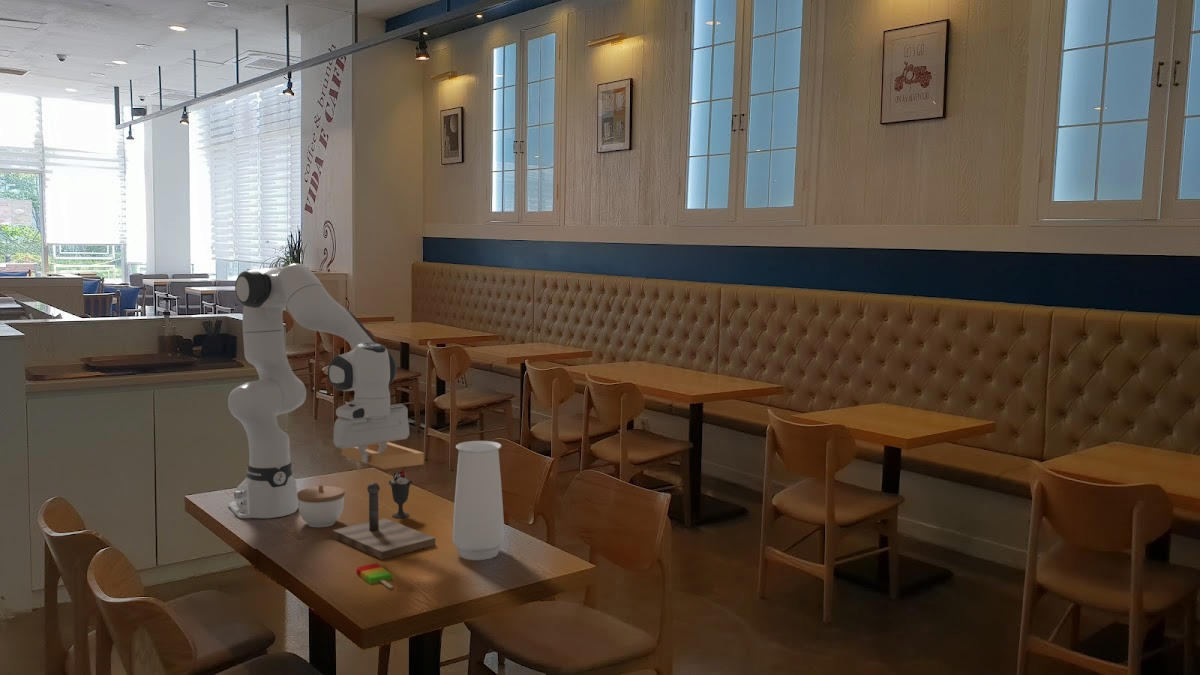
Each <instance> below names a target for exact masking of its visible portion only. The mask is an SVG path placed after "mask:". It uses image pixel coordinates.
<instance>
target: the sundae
mask: <svg viewBox="0 0 1200 675" xmlns="http://www.w3.org/2000/svg"><path fill="white" fill-rule="evenodd" d="M406 468H407V466H405V467H404V468H402V469H401V470H400V471H399V472H394V473H393V476H392V477H393V478H392V480H388V485H389V486H391V493H392V499H393V502H394V503H396V504H397V505H398V510H397V513H394V514H392V515H391V517H392V518H393V517H394V518H393V519H398V518H401V519H407V518H409V517H410V513H407V512H406V513H405V511H404V508H403V506H404V504H405V503H406V502H407V501H408V498H409V494H410V493H409V492H410V488H411V484H412V483H413V481H412V480H411V479H408V476H407V474H406V473H405V469H406ZM408 516H409V517H408ZM406 517H407V518H406Z"/></svg>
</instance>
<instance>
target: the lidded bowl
mask: <svg viewBox="0 0 1200 675" xmlns="http://www.w3.org/2000/svg"><path fill="white" fill-rule="evenodd" d="M345 494H346V492H345V489H344V488H343V487H339V486H333V485H324V484H318V486H311V487H306V488H304V489H301V490H299V491H297V498H298V507H299V508H298V511H299V515H300V516H301V518H302V520H303V521H304V522H305V523H306V524H307V525H308V527H311V528H327V527H331V526H333V525H335V524H336V522H337V520H339V519H340V517H341V516H342V513H343V510H344V505H345Z"/></svg>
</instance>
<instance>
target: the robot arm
mask: <svg viewBox="0 0 1200 675" xmlns="http://www.w3.org/2000/svg"><path fill="white" fill-rule="evenodd" d="M234 286H235V287H234V289H235V290H234V291H235V295H236V297H237V299H238V301H239V302H240V304H241V305H242V306H243V308H242V337H243V339H242V340H243V351H244V358H245V360H246V361H247V362H248V363H249V364H251V365H252V366H253V367H254V368H255V369H256V370H255V371H256V372H257V375H258V380H253V381H247V382H245V383H243V384H240V385H238V386H237V387H235V388H234V389H232V390H231V391H230V393H229V395H228V396H227V397H228V398H227V406H228V407H227V408H228V410H229V412H230V414H231V415H232V416H233V418H235V419H236V420H238V421H239V423H241V425H242V426H243V428H244V431H245V433H246V436H247V437H246V438H247V441H248V442H247V443H248V456H249V457H248V458H249V460H248V461H249V464H247V465H246V466H247V467H246V478H245V479H244V480H242V482H240V484H239V485H238V486H237V487H236V490H235V491H234V493H233V496H234V497H233V498H234V499H235V500H232V501H230V502H228V503H227V507H228V506H229V507H230V508H231V509H230V508H229V507H228V508H229V509H230V511H231V512H233V513H234V515H236V516H237V518H239V519H276V518H280V517H284V516H288V515H291V514H293V513H296V512H297V510H299V507H298V498H297V493H298V489H297V488H298V487H297V481H296V479H295V478H294V477H293V476H292V475H293V464H292V462H291V451H290V450H291V448H290V447H291V446H290V444H291V442H290V436H289V435H288V433H287V432H285V431H284V430H282V429H281V428H280V426H279V423H278V419H277V418H278V417H277V416H280V415H283V414H287V413H291V412H293V411H294V410H296V409H298V408H299V407H301V406H302V405H303V404H304V403H305V401H306V399H307V389H306V386H305V384H304V382H303V381H302V380H301V379H300V378H299V377H298V376H296V374H295V373H294V372H293V369H292V367H291V365H290V363H289V359H288V356H287V355H288V354H287V350H286V348H287V347H286V341H285V340H286V338H285V326H284V319H283V313H284V309H287V310H288V312H289V314H290V315H291V317H292V318H293V319H294V321H295V322H296V323H297V324H298V325H299V326H301V327H303V328H304V329H307V330H309V331H313V332H315V331H316V332H321V333H327V334H331V335H335V336H338V337H340V338H342V339H344V341H346V342H347V343H348V344H349V345H350V347H351V348H352V350H350V351H348V352H345V353H342V354H338V355H335V356H334V357H333V358H331V361H330V362H329V363H328V367H327V378H328V381H329V382H330V384H331V386H332V387H333V388H334V389H336V390H337V391H342V392H351V391H354V396H353V397H354V398H353V400H350V401H348V402H347V403H346V404H343V405H341V406H339V407H337V408H336V409H335V415H336V416H337V419H336V420H335V421H334V426H333V444H334V447H336V448H338V449H341V450H342V449H347V448H353V447H358V449H359V451H360V453H361V454H362V461H363V462H362V463H364V462H365V464H367V462H371V455H369V454H367V452H366V449H367V445H372V444H378V445H379V449H378V451H377V452H379V453H382V454H383V453H384V451H385V449H386V447H387V442H390V443H391V442H396V441H401V440H406V439H408V437H410V423H409V417H408V415H409V412H408V407H407V406H406V405H404V404H403V403H397V404H391V393H390V392H391V391H390V387H389V386H390V385H391V384H392V383H393V381H394V380H395V378H396V377H397V376H396V375H397V372H398V365H397V361H396V360H395V358H394V356H393V355H392V354H391V353H390V352H389V351H388V349H387V347H386V346H385V345H384V344H381V343H379V342H377V340H376V339H375V337H373V335H372V334H371V333H370V332H369V331H368V329H366V327H365V326H364V325H363V323H362V322H361V321H360V320H359V319H358V318H357V317H356V316H355V315H354V314H353V313H352V312H351V311H350V310H348V309H347V308H345V307H344V306H342V305H341V304H340V303H338V302H337V301H336V300H335V299H334V298H333V297H332V296H331V295H330V293H328V291H327V290H326V288H325V286H324V285H323V283H322V282H321V280H320V279H319V278H318V277H317V276H316V274H315V273H314V272H312V270H311V269H310V268H309V267H308V266H307V265H304V264H303V263H295V262H294V263H290V264H287V265H286V266H273V267H264V268H258V269H256V268H251V269H247V270H244V271H242V272H240V273H239V274H238V276H237V277H236V280H235V285H234Z"/></svg>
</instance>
